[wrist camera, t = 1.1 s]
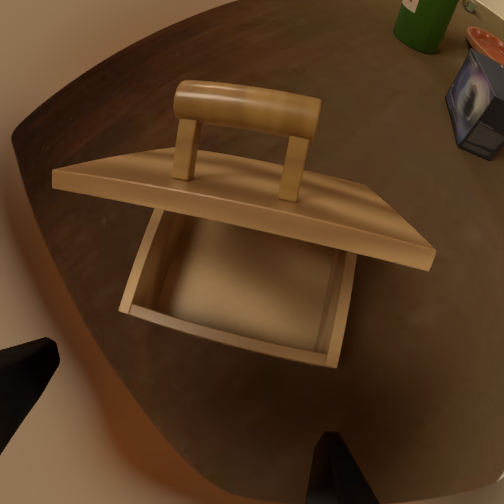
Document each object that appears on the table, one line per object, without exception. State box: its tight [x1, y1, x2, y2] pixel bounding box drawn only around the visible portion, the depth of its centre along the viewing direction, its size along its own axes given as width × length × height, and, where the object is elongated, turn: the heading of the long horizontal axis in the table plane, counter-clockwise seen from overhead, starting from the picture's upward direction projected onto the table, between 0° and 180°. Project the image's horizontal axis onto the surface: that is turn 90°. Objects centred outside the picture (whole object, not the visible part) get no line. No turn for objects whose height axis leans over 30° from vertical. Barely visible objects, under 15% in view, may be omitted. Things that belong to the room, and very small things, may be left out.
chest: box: [119, 208, 357, 368], centre depth 23 cm, size 13×15×6 cm
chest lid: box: [52, 80, 436, 271], centre depth 15 cm, size 13×15×5 cm
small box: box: [445, 49, 504, 161], centre depth 27 cm, size 11×6×10 cm, turn 168°
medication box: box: [463, 0, 476, 13], centre depth 52 cm, size 12×3×4 cm, turn 154°
